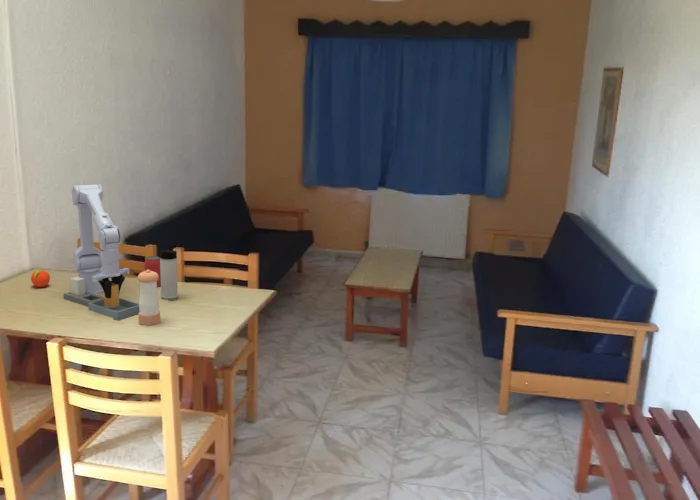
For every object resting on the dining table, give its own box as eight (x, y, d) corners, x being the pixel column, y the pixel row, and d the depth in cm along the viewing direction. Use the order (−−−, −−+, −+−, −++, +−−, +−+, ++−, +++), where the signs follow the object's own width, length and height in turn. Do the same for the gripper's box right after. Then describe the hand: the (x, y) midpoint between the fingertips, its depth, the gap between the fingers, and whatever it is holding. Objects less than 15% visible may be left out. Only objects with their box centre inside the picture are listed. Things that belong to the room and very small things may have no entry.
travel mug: (157, 299, 245) (155, 250, 240) (168, 295, 251) (166, 246, 246) (170, 302, 242) (169, 252, 238) (180, 297, 248) (180, 248, 244)
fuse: (78, 296, 242) (77, 276, 240) (85, 298, 240) (84, 278, 238) (71, 298, 240) (70, 278, 238) (78, 300, 238) (77, 280, 236)
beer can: (146, 288, 258) (145, 260, 255) (143, 283, 263) (143, 256, 261) (163, 286, 261) (162, 259, 258) (159, 282, 266) (159, 255, 264)
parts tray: (113, 303, 238) (113, 295, 237) (142, 312, 230) (142, 304, 229) (88, 310, 229) (88, 303, 228) (117, 320, 221) (117, 312, 220)
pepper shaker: (148, 327, 216) (146, 273, 212) (134, 322, 220) (132, 270, 215) (164, 321, 222) (163, 269, 218) (150, 316, 226) (149, 265, 221)
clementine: (44, 290, 249) (43, 273, 247) (26, 289, 249) (25, 272, 247) (53, 284, 257) (52, 267, 255) (36, 283, 257) (35, 267, 255)
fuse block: (80, 295, 245) (79, 289, 244) (106, 303, 237) (106, 297, 236) (63, 299, 239) (63, 293, 239) (90, 308, 231) (90, 302, 231)
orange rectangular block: (111, 302, 232) (110, 282, 230) (119, 305, 230) (118, 284, 228) (104, 304, 230) (103, 284, 228) (112, 307, 228) (111, 286, 226)
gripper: (100, 266, 218) (102, 303, 221) (134, 258, 230) (135, 293, 233) (87, 263, 221) (89, 299, 224) (121, 255, 233) (123, 290, 236)
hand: (112, 296), depth 229 cm, fingers closed on orange rectangular block, 3 cm apart
